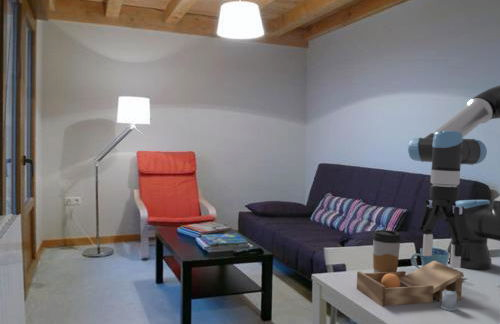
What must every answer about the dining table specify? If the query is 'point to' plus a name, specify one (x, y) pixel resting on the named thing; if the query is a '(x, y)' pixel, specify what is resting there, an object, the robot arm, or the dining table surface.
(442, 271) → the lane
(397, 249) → the coffee cup
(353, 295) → the dining table surface
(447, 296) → the tee
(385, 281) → the ball
